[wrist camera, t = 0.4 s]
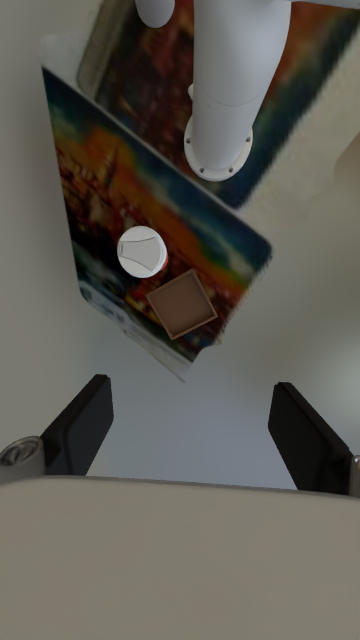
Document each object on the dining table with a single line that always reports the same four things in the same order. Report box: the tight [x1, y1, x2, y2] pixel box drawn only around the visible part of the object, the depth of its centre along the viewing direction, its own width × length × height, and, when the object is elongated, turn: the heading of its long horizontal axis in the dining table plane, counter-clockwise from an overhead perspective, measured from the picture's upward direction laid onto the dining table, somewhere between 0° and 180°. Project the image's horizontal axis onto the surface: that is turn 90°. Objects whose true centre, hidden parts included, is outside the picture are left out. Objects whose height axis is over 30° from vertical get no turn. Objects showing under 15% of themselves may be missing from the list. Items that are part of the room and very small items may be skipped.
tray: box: [145, 268, 218, 340], centre depth 43 cm, size 12×12×2 cm
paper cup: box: [117, 226, 168, 278], centre depth 35 cm, size 8×8×14 cm
